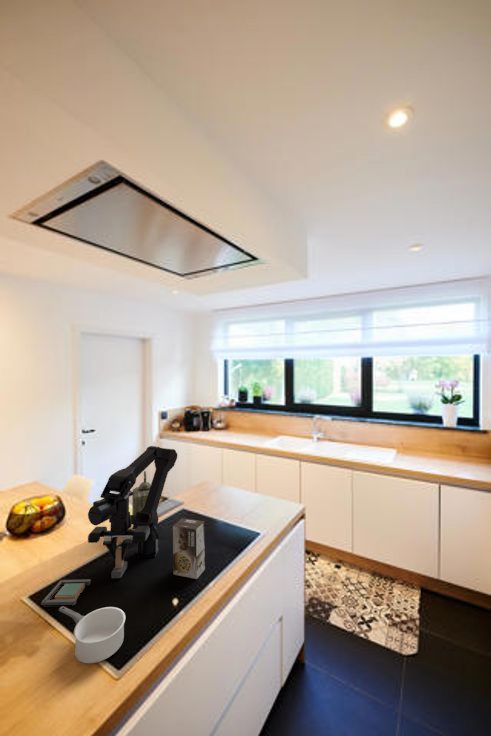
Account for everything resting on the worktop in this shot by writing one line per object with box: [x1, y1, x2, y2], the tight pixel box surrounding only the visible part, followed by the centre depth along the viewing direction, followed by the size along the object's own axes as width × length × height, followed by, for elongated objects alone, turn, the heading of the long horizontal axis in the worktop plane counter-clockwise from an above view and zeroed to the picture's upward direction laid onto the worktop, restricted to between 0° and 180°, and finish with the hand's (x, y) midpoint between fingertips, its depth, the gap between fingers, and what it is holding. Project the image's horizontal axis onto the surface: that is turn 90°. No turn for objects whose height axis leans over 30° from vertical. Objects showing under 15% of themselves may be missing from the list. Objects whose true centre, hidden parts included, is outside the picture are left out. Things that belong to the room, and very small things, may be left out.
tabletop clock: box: [131, 470, 151, 519], centre depth 136 cm, size 14×9×25 cm, turn 22°
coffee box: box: [172, 517, 206, 580], centre depth 107 cm, size 9×6×16 cm
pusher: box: [110, 546, 128, 579], centre depth 105 cm, size 3×6×8 cm, turn 2°
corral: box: [40, 578, 92, 607], centre depth 95 cm, size 10×10×1 cm
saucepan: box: [58, 606, 126, 664], centre depth 78 cm, size 12×20×6 cm, turn 66°
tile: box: [53, 583, 86, 600], centre depth 95 cm, size 6×6×2 cm
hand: (119, 559), depth 105 cm, fingers closed on pusher, 2 cm apart
